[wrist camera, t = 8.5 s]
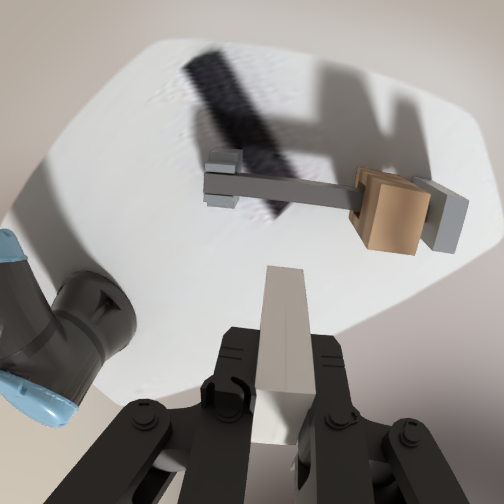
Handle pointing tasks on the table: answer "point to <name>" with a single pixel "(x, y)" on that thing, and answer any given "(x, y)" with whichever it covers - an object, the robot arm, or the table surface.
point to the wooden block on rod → (389, 212)
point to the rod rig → (327, 196)
